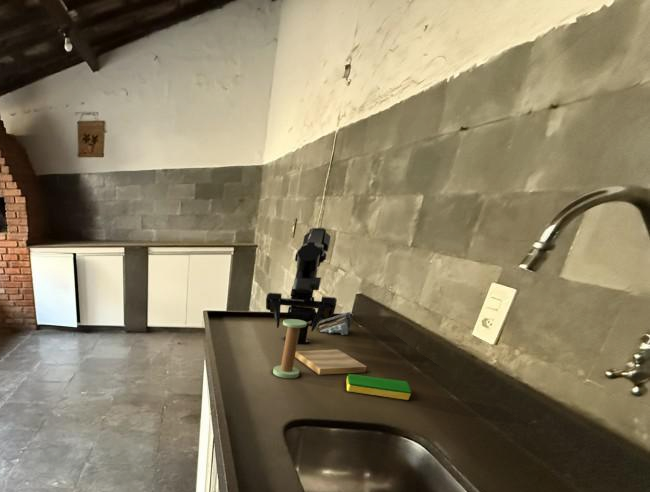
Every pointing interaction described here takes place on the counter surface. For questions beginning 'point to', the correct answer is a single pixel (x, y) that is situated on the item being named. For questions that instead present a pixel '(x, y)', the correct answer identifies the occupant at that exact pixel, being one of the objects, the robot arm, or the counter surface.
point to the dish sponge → (378, 386)
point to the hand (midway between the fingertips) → (294, 329)
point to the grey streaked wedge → (336, 324)
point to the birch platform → (330, 362)
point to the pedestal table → (295, 371)
